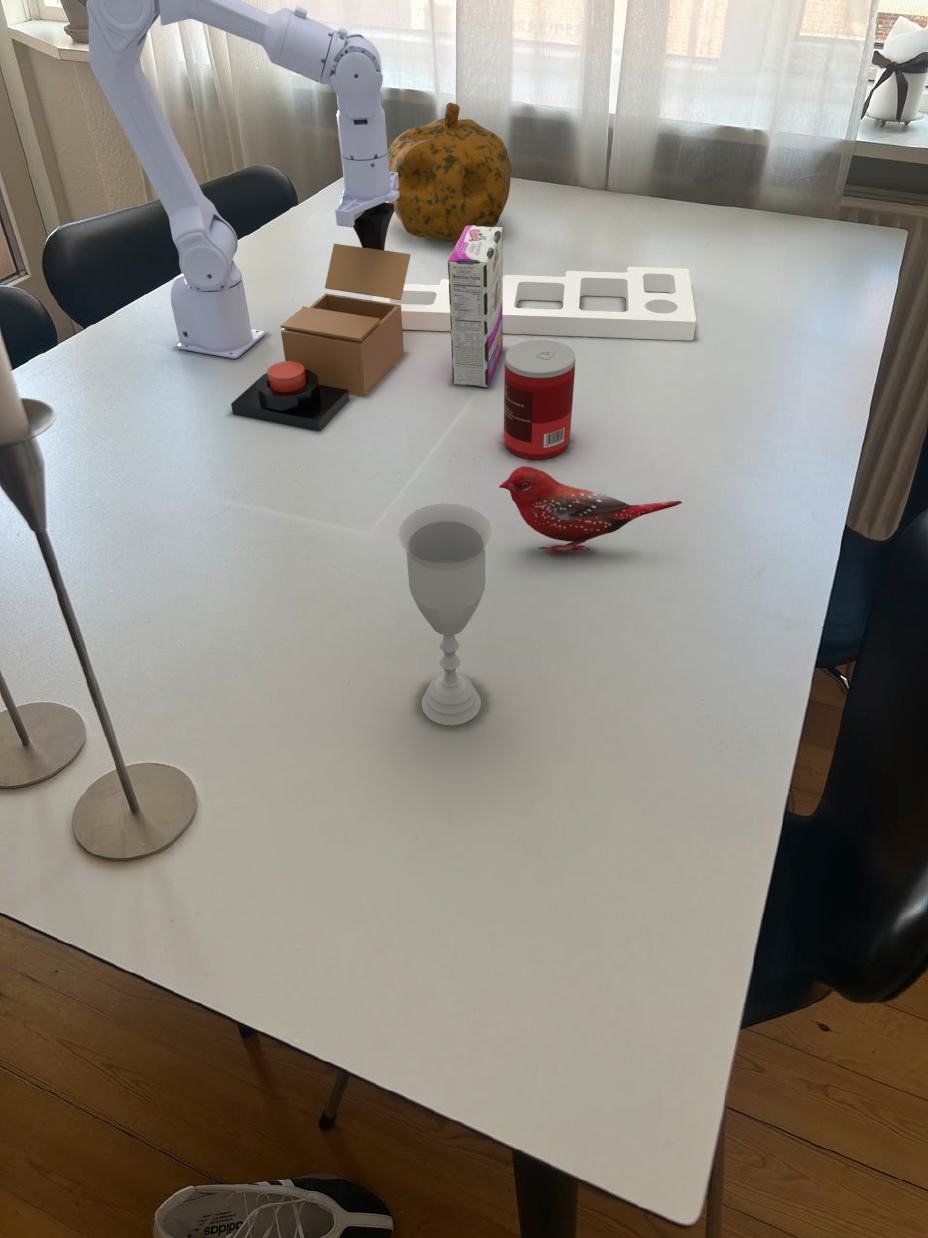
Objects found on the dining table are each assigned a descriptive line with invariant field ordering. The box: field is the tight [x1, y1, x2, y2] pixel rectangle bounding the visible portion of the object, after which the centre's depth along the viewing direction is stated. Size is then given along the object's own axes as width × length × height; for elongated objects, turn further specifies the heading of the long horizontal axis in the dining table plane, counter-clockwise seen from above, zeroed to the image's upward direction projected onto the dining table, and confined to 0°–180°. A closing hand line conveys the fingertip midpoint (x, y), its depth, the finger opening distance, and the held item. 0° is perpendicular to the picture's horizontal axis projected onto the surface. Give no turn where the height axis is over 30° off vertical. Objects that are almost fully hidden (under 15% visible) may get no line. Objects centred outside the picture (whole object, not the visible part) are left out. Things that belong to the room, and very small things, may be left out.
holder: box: [370, 266, 697, 342], centre depth 139 cm, size 45×18×3 cm, turn 83°
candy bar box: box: [447, 225, 504, 388], centre depth 121 cm, size 11×5×16 cm, turn 168°
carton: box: [280, 292, 405, 397], centre depth 124 cm, size 12×11×8 cm
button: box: [267, 360, 306, 392], centre depth 117 cm, size 4×4×2 cm
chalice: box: [398, 502, 493, 726], centre depth 76 cm, size 7×7×18 cm
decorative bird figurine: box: [498, 465, 683, 553], centre depth 94 cm, size 3×18×10 cm, turn 88°
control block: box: [230, 369, 350, 432], centre depth 118 cm, size 12×8×4 cm, turn 69°
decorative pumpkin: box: [387, 101, 513, 243], centre depth 156 cm, size 20×21×20 cm
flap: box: [324, 243, 411, 300], centre depth 126 cm, size 6×11×1 cm
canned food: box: [503, 339, 576, 460], centre depth 109 cm, size 8×8×11 cm
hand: (374, 262), depth 127 cm, fingers closed, pressing on flap
